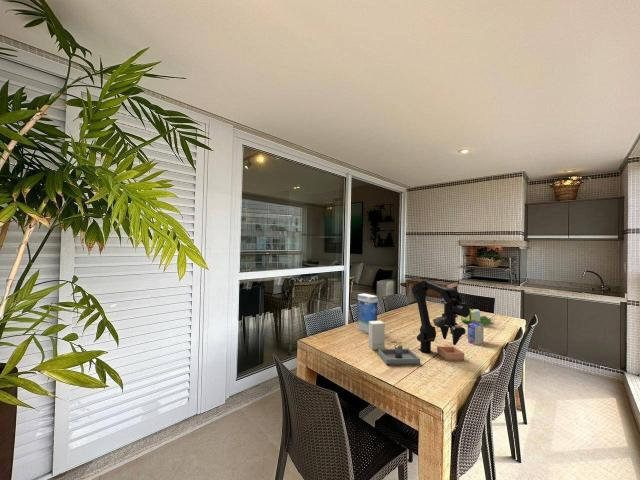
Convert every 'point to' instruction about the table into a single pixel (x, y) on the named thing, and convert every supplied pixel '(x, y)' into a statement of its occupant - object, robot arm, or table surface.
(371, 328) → the skincare box
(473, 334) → the ink cartridge box
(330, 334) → the table surface
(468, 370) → the table surface
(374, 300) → the blue white lidded canister
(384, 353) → the tray
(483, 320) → the toy landscape diorama
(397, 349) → the battery cell
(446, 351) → the bin
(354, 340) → the table surface
